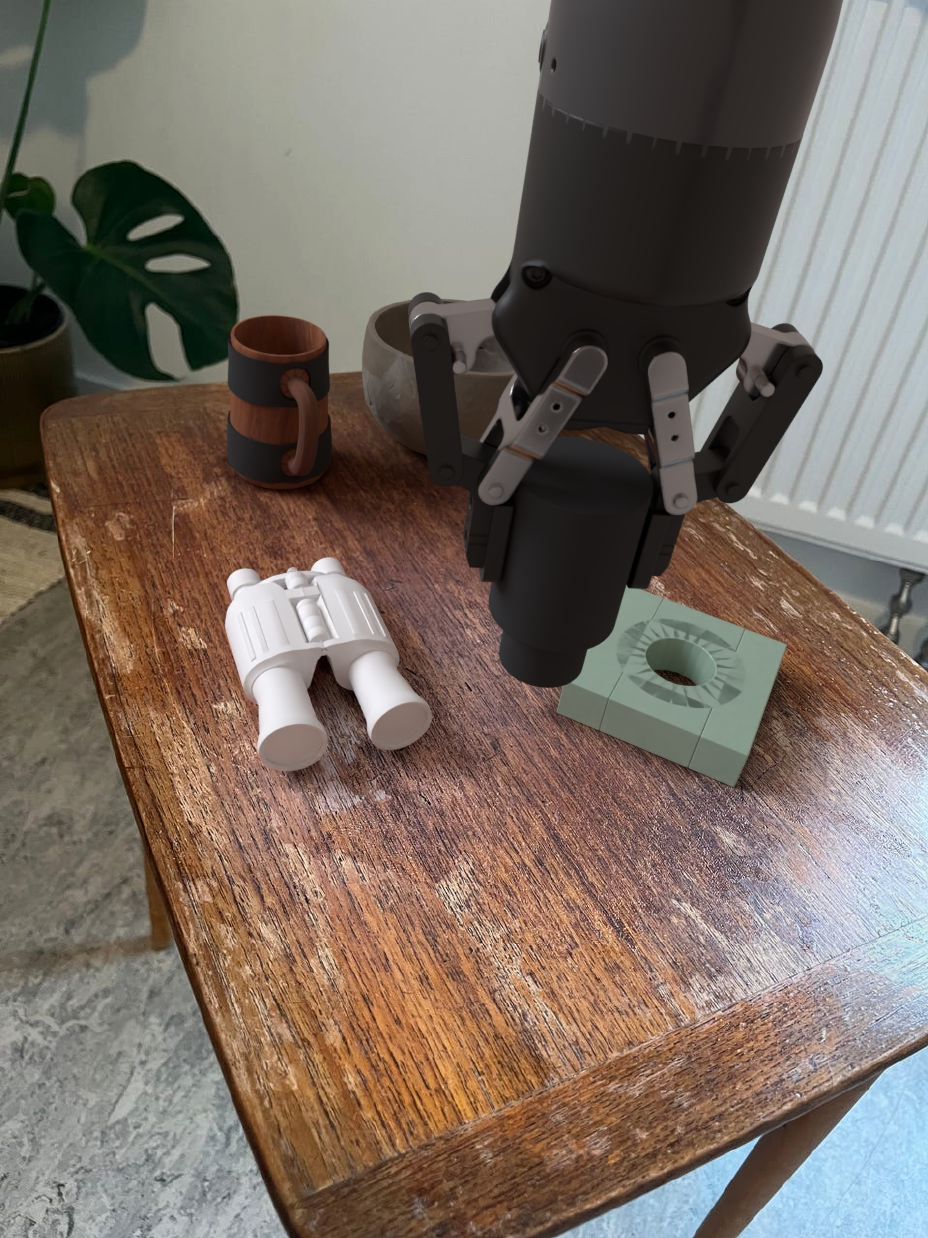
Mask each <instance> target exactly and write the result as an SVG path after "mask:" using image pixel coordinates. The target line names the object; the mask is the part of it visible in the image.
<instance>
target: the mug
mask: <svg viewBox="0 0 928 1238" xmlns="http://www.w3.org/2000/svg"><path fill="white" fill-rule="evenodd" d="M227 351H228V353H227V356H228V359H227V361H228V362H227V387H228V389H229V397H230V398H229V401H230V406H229V407H230V408H229V409H230V410H229V411H228V413H227V420H226V453H227V461H228V463H229V465H230V466H231V468H233V470H234V471H235V472H236V474H237V475H238V476H239V477H240V478H241V479H243V480H244V481H245V482H247V483H249V484H251V485H254V486H256V487H260V488H263V489H270V490H292V489H300V488H303V487H306V486H309V485H312V484H313V483H315V482H316V481H318V480H319V479H320V478H321V477H322V476H323V475H324V473H325V472H326V471H327V470H328V469H329V468H330V466H331V463H332V457H333V442H332V441H333V438H332V437H333V436H332V420H331V415H330V414H329V405H328V404H329V395H328V394H329V392H330V390H331V377H330V341H329V338H328V337H327V336H326V333H325V332H324V330H323V329H322V328H321V327H319V326H318V325H316V324H314V323H313V322H311V321H308V320H305V319H302V318H298V317H294V316H288V315H278V314H277V315H276V314H273V315H272V314H269V315H268V314H267V315H258V316H251V317H249V318H246V319H245V318H244V319H243V320H240V321H239V322H238V323H236V324H235V325H234V326H233V327H232V329H231V330H230V332H229V333H228V336H227Z"/></svg>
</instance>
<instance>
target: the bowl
mask: <svg viewBox="0 0 928 1238" xmlns="http://www.w3.org/2000/svg"><path fill="white" fill-rule="evenodd" d="M411 300H412V299H407V300H402V301H397V302H393V303H390V304H387V305H384V306H381V307H380V308H378V309H377V310H375V311H373V313H371V315H370V316H369V318H368V322H367V324H366V327H365V332H364V338H363V344H362V353H361V376H362V387H363V394H364V400H365V403H366V404H367V407H368V409H369V411H370V412H371V414H372V416H373V418H374V420H375V422H376V423H377V424H378V425H379V426H380V428H382V429H383V431H384V432H386V433H387V434H388V435H389V436H390V437H392V438H393V439H395V441H397V442H398V443H400V444H401V445H403V446H404V447H406V448H408V449H409V450H411V451H414V452H416V453H418V454H422V455H424V456H427V454H426V447H425V440H424V433H423V425H422V418H421V411H420V404H419V397H418V389H417V382H416V375H415V368H414V361H413V354H412V346H411V336H410V325H409V314H408V307H409V303H410V301H411ZM441 300H442V301H443V303H444V304H447V303H455V302H463V301H465V300H464V299H463V300H462V299H453V298H452V299H451V298H441ZM514 373H515V371H514V369H513V367H512V366H511V364H510V362H509V361H508V359H507V357H506V355H505V354H504V352H503V350H502V348H501V347H500V345H499V343H498V341H497V340H496V338H495V337H492V338H489V339H487V340H485V341H484V342H482V343H481V344H480V346H479V347H478V349H477V353H476V361H475V364H474V366H473V367H472V368H471V369H470V370H469V371H468V372H466V373H464V374H462V375H454V383H455V392H456V401H457V410H458V419H459V428H460V434H462V435H465V436H467V437H470V438H472V439H475V440H477V441H479V440H480V439H481V437H482V435H483V434H484V432H485V430H486V429H487V427H488V425H489V424H490V422H491V420H492V419H493V417H494V416H495V414H496V411H497V408H498V403H499V400H500V397H501V395H502V393H503V391H504V390H505V388H506V387H507V385H508V383H509V382H510V380H511V378H512V377H513V375H514Z"/></svg>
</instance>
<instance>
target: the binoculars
mask: <svg viewBox="0 0 928 1238" xmlns="http://www.w3.org/2000/svg"><path fill="white" fill-rule="evenodd" d="M226 586H227V590H228V593H229V596H230V600H231V603H230V604H229V606H228V607H227V611H226V614H225V615H226V616H225V620H224V621H225V622H224V628H225V632H226V636H227V639H228V643H229V646H230V650H231V652H232V656H233V659H234V663H235V666H236V670H237V672H238V677H239V679H240V683H241V686H242V689H243V693H244V695H245V697H246V698H247V699H248V700H249V701H250V702H251V703H253V704H254V705H257V706H258V728H259V729H258V731H259V734H258V738H257V744H256V750H257V754H258V758H259V759H260V762H261V763H262V764H263V765H264V766H265V767H267V768H269V769H271V770H273V771H279V772H294V771H300V770H302V769H306V768H309V767H310V766H312V765H313V764H315V763H316V762H318V761H319V760H320V759H321V758H322V757H323V756H324V755H325V753H326V752H327V749H328V745H329V742H328V734H327V731H326V728H325V727H324V726H323V724H322V723H321V722H320V721H319V720H318V717H317V715H316V712H315V709H314V707H313V704H312V701H311V698H310V695H309V692H308V689H309V688H310V687H311V684H312V681H313V677H314V673H315V670H316V667H317V664H318V660H320V658H321V657H322V656H326V658H327V661H328V664H329V666H330V669H331V671H332V674H333V676H334V678H335V681H336V682H337V684H338V685H339V686H341V687H342V688H344V689H346V690H348V691H353V692H354V694H355V697H356V699H357V702H358V704H359V706H360V708H361V711H362V714H363V716H364V719H365V721H366V729H367V735H368V738H369V739H370V741H371V742H372V744H373V745H374V746H375V747H376V748H378V749H379V750H380V749H381V750H382V751H383V750H384V751H395V750H401V749H403V748H405V747H408V746H410V745H412V744H413V743H415V742H417V741H419V739H420V738H422V737H423V735H424V734H426V732H427V731H428V729H429V728H430V726H431V724H432V720H433V712H432V710H431V707H430V705H429V704H428V701H426V700H425V699H424V698H422V696H420V695H419V694H417V693H416V692H415V691H414V689H413V688H412V686H411V685H410V684H409V682H407V680H406V678H405V677H404V676H403V675H402V674H401V673H400V671H398V666H399V664H400V654H399V651H398V649H397V646H396V644H395V642H394V640H393V638H392V636H391V633H390V632H389V630H388V628H387V625H386V624H385V621H384V620H383V616H382V615H381V613H380V611H379V609H378V607H377V604H376V603H375V600H374V599H373V597H372V594H371V593H370V591H369V590H368V589H367V588H365V586H363V584H361V583H360V582H359V581H357V580H355V579H353V578H351V577H348V575H347V573H346V572H345V570H344V567H343V565H342V563H341V562H340V561H339V560H338V559H336V558H334V557H322V558H320V559H318V560H317V561H316V562H315V563H314V564H313V565H312V566H311V568H310V570H298V569H297V567H294V566H292V567H289V568H288V569H287V571H286V572H283V573H280V574H275V575H273V576H270V577H267V578H265V579H263V580H262V579H261V577H260V575H259V573H258V572H257V571H256V570H254V569H252V568H247V567H246V568H245V567H244V568H239V569H236V570H235V571H233V572H232V573H231V574H230V575H229V576H228V578H227V581H226Z"/></svg>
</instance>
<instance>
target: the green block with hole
mask: <svg viewBox="0 0 928 1238" xmlns="http://www.w3.org/2000/svg"><path fill="white" fill-rule="evenodd" d="M787 648H788V644H787V643H784V642H781V641H779V640H776V639H774V638H770V637H768V636H766V635H762V634H761V633H757V632H755V631H752V630H750V629H747V628H745V627H743V626H739V625H736V624H734V623H732V622H729V621H726V620H723V619H721V618H719V617H715V616H713V615H710V614H708V613H705V612H702V611H699V610H697V609H694V608H692V607H690V606H687V605H686V606H685V605H683V604H682V603H681V604H680V603H679V602H676V601H673V600H670V599H667V598H664V597H663V596H660V595H657V594H654V593H652V592H649V591H646V590H645V589H630V588H628V587H627V585H626V588H625V592H624V595H623V599H622V602H621V606H620V609H619V613H618V616H617V620H616V623H615V627H614V629H613V631H612V633H611V634H610V636H609V637H608V638H607V639H606V640H605V641H603V642H602V643H601V644H599V645H597V646H595V647H593V648H590V649H588V650H587V653H586V657H585V661H584V665H583V668H582V671H581V673H580V675H579V676H578V677H577V678H576V679H575V680H574V681H573V682H571V683H569V684H567V685H564V686H562V688H561V692H560V696H559V700H558V704H557V708H556V714H558V715H561V716H563V717H566V718H568V719H569V720H572V721H575V722H577V723H579V724H582V725H584V726H587V727H590V728H591V729H594V730H596V731H600V732H601V733H604V734H606V735H608V736H611V737H613V738H615V739H618V740H621V742H625V743H628V744H630V745H631V746H635V747H636V748H639V749H642V750H644V751H646V752H648V753H651V754H653V755H656V756H658V757H661V758H663V759H665V760H668V761H670V762H672V763H675V764H677V765H680V766H682V767H684V768H687V769H690V770H691V771H694V772H696V773H698V774H701V775H703V776H706V777H707V778H711V779H712V780H715V781H718V782H720V783H722V784H725V785H727V786H729V787H731V788H735V787H736V785H737V782H738V780H739V778H740V776H741V775H742V774H741V773H742V772H743V770H744V767H745V765H746V762H747V761H748V758H749V756H750V754H751V750H752V749H753V745H754V742H755V739H756V737H757V734H758V731H759V728H760V724H761V723H762V719H763V717H764V713H765V710H766V707H767V705H768V701H769V699H770V696H771V693H772V690H773V688H774V685H775V682H776V679H777V676H778V673H779V671H780V668H781V664H782V662H783V659H784V656H785V653H786V651H787ZM656 671H669V672H672V673H676V674H679V675H682V676H684V677H685V678H687V679H689V680H690V681H691V682H692V683H693V684H694V685H682V684H677V683H674V682H672V681H669V680H667V679H666V678H663V677H662V676H660V675H659V674H658V673H657V672H656Z"/></svg>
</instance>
